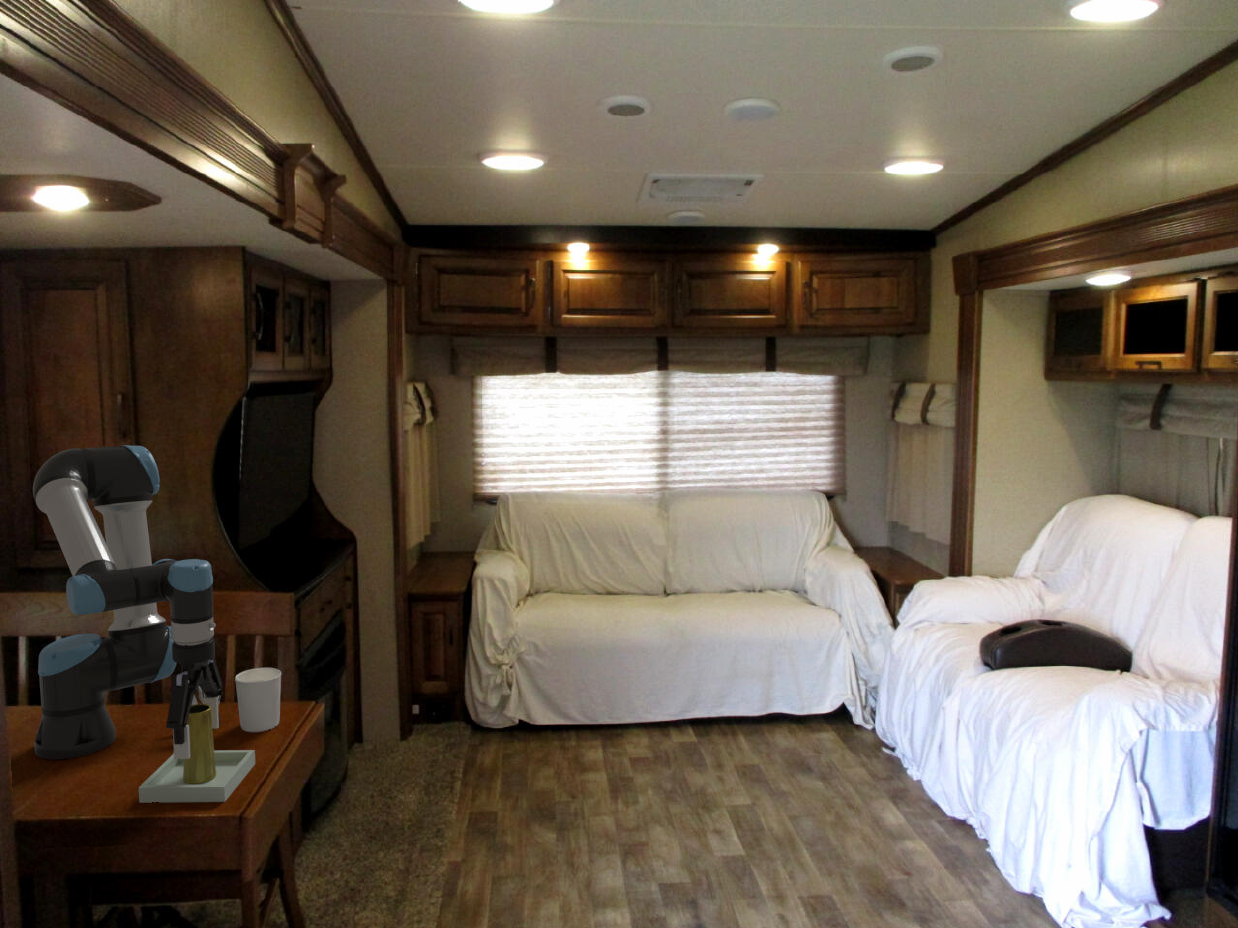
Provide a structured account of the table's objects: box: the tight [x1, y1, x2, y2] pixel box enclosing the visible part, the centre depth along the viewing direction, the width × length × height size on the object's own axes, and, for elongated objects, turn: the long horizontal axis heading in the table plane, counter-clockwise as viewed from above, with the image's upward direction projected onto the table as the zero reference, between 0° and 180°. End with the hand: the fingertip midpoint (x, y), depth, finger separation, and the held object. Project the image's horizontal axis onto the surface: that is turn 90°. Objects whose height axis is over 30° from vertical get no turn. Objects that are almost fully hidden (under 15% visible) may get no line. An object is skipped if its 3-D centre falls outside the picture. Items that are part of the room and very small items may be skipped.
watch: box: [192, 686, 222, 727], centre depth 202 cm, size 6×8×11 cm
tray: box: [138, 749, 256, 804], centre depth 177 cm, size 16×16×3 cm
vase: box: [183, 703, 216, 784], centre depth 177 cm, size 6×6×14 cm
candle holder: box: [234, 667, 282, 733], centre depth 205 cm, size 10×10×12 cm
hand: (197, 742), depth 177 cm, fingers open, 13 cm apart
